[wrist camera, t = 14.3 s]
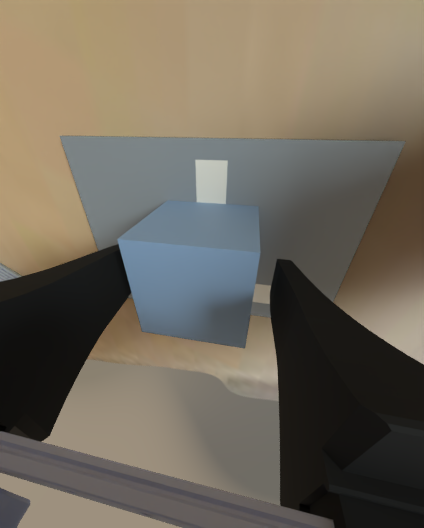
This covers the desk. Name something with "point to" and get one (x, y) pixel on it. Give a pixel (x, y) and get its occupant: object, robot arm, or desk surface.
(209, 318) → the blue cube
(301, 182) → the board
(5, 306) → the robot arm
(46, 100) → the desk surface
